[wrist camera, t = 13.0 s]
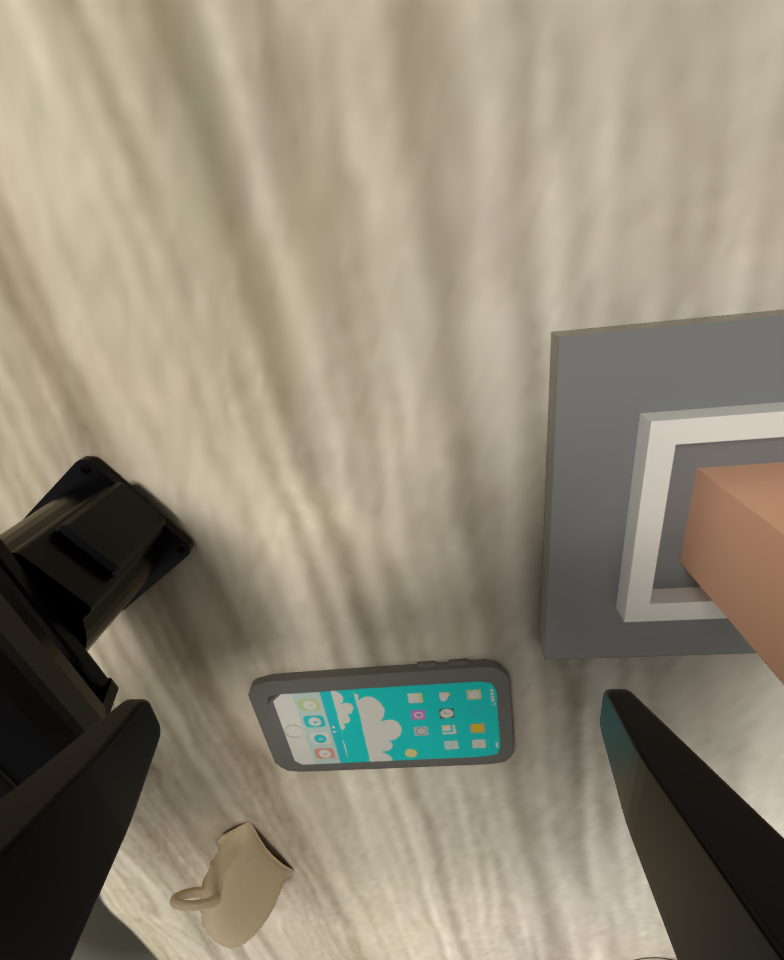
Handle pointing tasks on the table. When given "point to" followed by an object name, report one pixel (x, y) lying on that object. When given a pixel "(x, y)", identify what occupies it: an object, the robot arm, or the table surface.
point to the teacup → (654, 959)
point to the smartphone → (387, 716)
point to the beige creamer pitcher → (236, 888)
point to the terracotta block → (741, 551)
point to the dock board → (647, 476)
